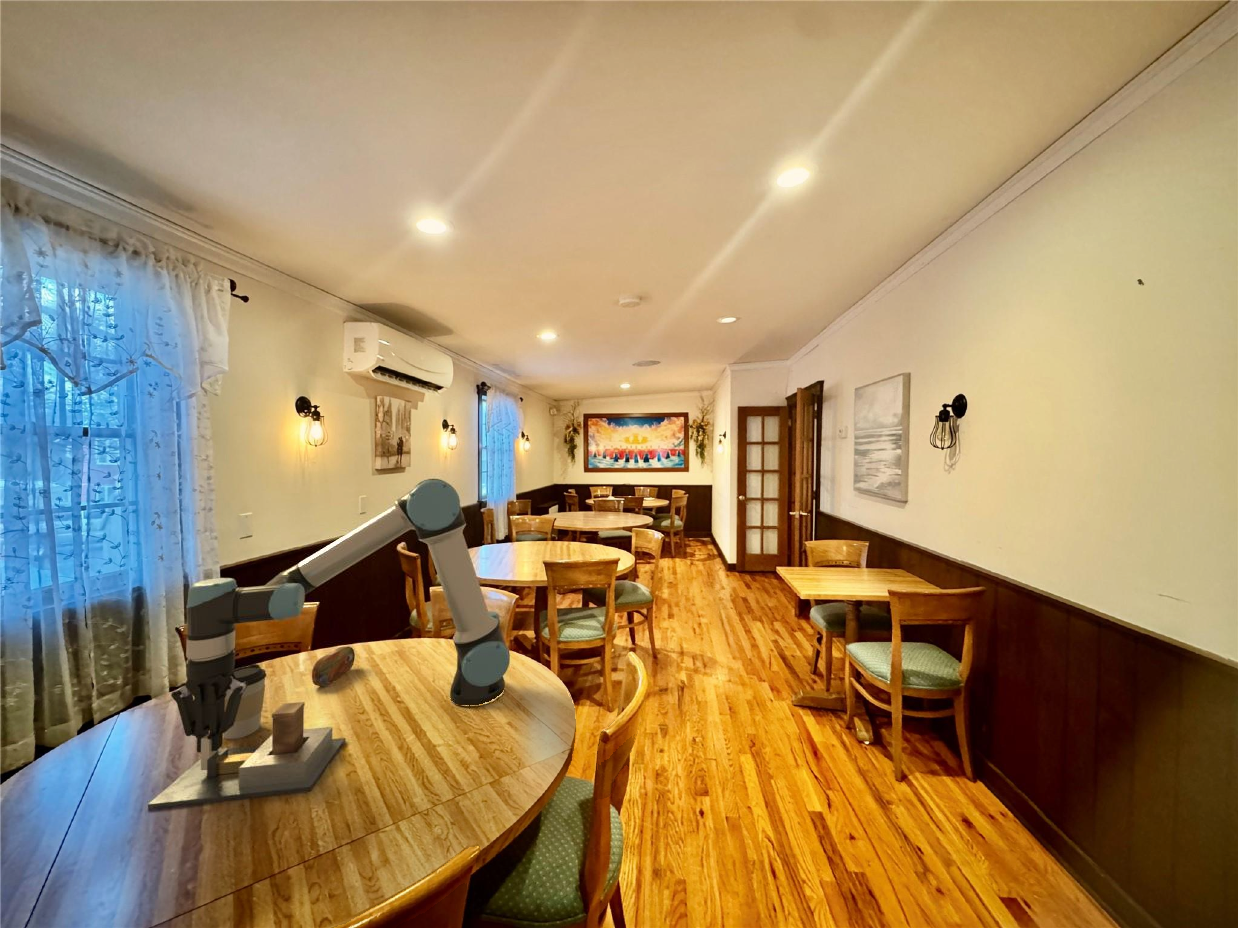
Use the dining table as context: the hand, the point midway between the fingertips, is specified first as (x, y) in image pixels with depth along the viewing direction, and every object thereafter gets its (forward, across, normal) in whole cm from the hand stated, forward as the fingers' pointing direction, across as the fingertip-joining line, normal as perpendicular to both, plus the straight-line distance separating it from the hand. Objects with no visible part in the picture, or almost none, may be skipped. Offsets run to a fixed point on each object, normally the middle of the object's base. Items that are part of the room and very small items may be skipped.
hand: (209, 765), depth 92 cm
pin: (+1, -6, 0) cm, 6 cm away
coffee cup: (+3, +4, -17) cm, 18 cm away
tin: (+3, -6, -42) cm, 43 cm away
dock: (+2, -9, 0) cm, 9 cm away
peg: (+1, -15, 0) cm, 15 cm away
